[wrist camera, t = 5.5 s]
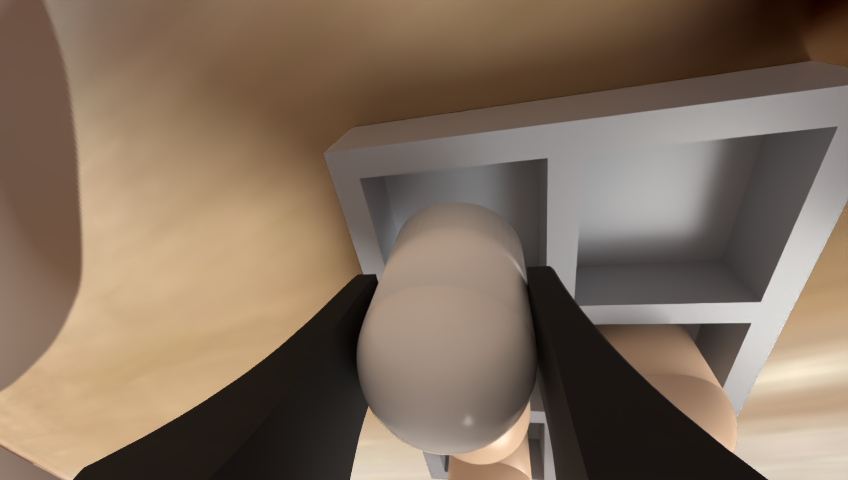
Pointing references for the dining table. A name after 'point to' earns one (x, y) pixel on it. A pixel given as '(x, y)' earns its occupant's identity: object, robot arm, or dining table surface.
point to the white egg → (450, 332)
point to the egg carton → (631, 221)
